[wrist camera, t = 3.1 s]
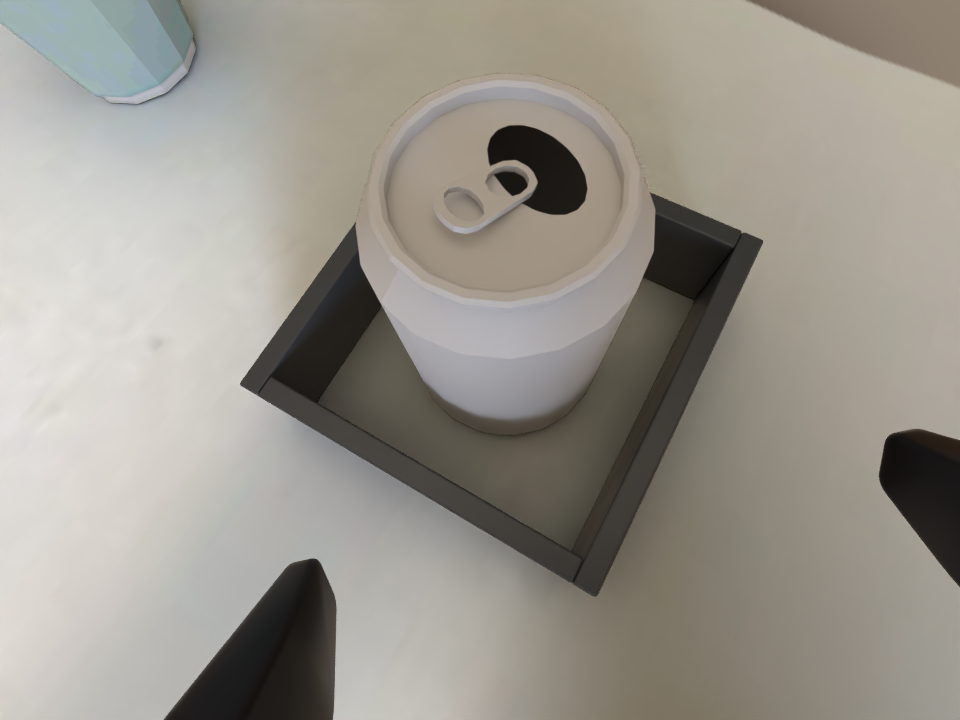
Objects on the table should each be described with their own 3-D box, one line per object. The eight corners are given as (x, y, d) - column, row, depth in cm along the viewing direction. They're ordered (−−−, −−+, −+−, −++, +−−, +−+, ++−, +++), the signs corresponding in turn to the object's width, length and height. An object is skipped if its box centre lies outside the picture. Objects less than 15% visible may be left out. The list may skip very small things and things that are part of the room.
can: (632, 365, 23) (752, 192, 11) (491, 477, 22) (469, 406, 10) (520, 244, 25) (527, -4, 14) (387, 340, 24) (272, 156, 12)
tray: (719, 294, 24) (764, 239, 19) (578, 586, 20) (596, 598, 16) (451, 173, 26) (440, 102, 22) (289, 413, 23) (238, 384, 19)
